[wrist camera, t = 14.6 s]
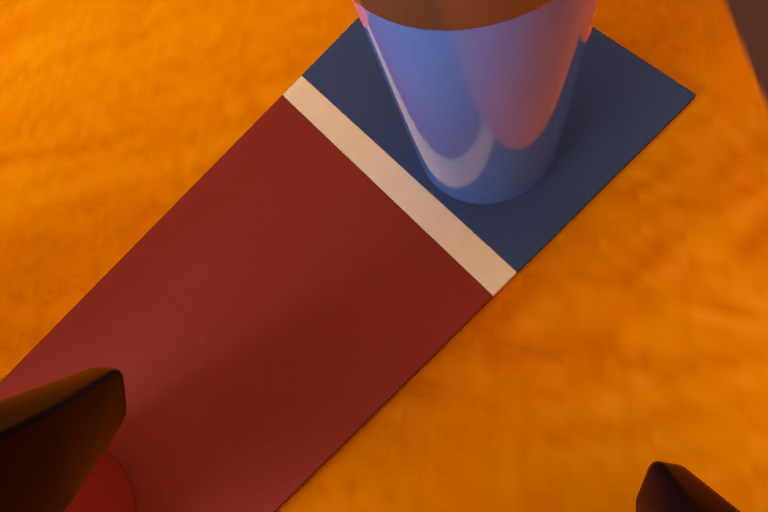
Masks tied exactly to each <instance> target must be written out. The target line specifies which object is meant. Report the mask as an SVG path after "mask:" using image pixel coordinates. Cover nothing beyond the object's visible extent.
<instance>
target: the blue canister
mask: <svg viewBox="0 0 768 512" xmlns="http://www.w3.org/2000/svg"><path fill="white" fill-rule="evenodd" d="M352 1H353V4H354V6H355V9H356V11H357V13H358V16H359V18H360V21H361V23H362V25H363V28H364V30H365V32H366V35H367V37H368V40H369V42H370V44H371V47H372V49H373V52H374V54H375V56H376V59H377V61H378V64H379V66H380V68H381V71H382V73H383V76H384V78H385V80H386V83H387V85H388V87H389V90H390V92H391V95H392V97H393V99H394V102H395V104H396V107H397V109H398V111H399V114H400V116H401V119H402V121H403V123H404V126H405V128H406V130H407V133H408V135H409V138H410V140H411V142H412V145H413V147H414V150H415V152H416V154H417V157H418V159H419V162H420V164H421V166H422V168H423V170H424V172H425V174H426V175H427V177H428V178H429V180H430V181H431V182H432V183H433V184H434V185H435V186H436V187H437V188H438V189H440V190H441V191H442V192H444V193H445V194H447V195H449V196H451V197H453V198H455V199H457V200H461V201H464V202H468V203H474V204H493V203H499V202H504V201H507V200H510V199H513V198H516V197H518V196H520V195H522V194H524V193H525V192H527V191H528V190H530V189H531V188H533V187H534V186H535V185H536V184H537V183H539V182H540V181H541V179H542V178H543V177H544V176H545V175H546V174H547V172H548V171H549V169H550V168H551V166H552V165H553V163H554V161H555V159H556V156H557V153H558V150H559V146H560V143H561V139H562V135H563V132H564V128H565V125H566V121H567V117H568V114H569V110H570V106H571V103H572V99H573V95H574V92H575V88H576V85H577V81H578V77H579V74H580V70H581V66H582V63H583V59H584V55H585V52H586V48H587V45H588V41H589V37H590V34H591V30H592V26H593V23H594V19H595V16H596V12H597V8H598V5H599V1H600V0H352Z"/></svg>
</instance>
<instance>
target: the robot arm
mask: <svg viewBox="0 0 768 512" xmlns="http://www.w3.org/2000/svg"><path fill="white" fill-rule="evenodd" d="M125 414H126V397H125V388H124V378H123V374H122V373H121V371H119V370H118V369H114V368H108V367H102V366H95V367H92V368H89V369H86V370H83V371H81V372H78V373H75V374H72V375H70V376H67V377H64V378H61V379H58V380H56V381H53V382H50V383H47V384H45V385H42V386H39V387H36V388H33V389H31V390H28V391H25V392H22V393H20V394H17V395H14V396H11V397H8V398H6V399H3V400H0V512H65V511H66V510H67V508H68V507H69V506H70V504H71V503H72V501H73V500H74V498H75V497H76V495H77V494H78V492H79V491H80V489H81V488H82V486H83V485H84V483H85V481H86V480H87V478H88V477H89V475H90V473H91V472H92V470H93V469H94V467H95V465H96V464H97V462H98V461H99V459H100V457H101V456H102V454H103V453H104V451H105V449H106V448H107V446H108V445H109V443H110V442H111V440H112V438H113V437H114V435H115V434H116V432H117V430H118V429H119V427H120V426H121V424H122V422H123V420H124V418H125ZM636 512H740V511H739V510H738V509H736V508H735V507H734V506H733V505H731V504H730V503H729V502H728V501H726V500H725V499H724V498H723V497H721V496H720V495H719V494H717V493H716V492H715V491H714V490H712V489H711V488H710V487H709V486H707V485H706V484H705V483H704V482H702V481H701V480H700V479H699V478H697V477H696V476H695V475H693V474H692V473H691V472H690V471H688V470H687V469H686V468H684V467H683V466H681V465H678V464H672V463H667V462H661V461H656V462H653V463H652V464H651V465H650V466H649V468H648V471H647V473H646V476H645V478H644V481H643V483H642V486H641V488H640V491H639V493H638V496H637V499H636Z"/></svg>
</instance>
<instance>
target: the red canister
mask: <svg viewBox="0 0 768 512" xmlns="http://www.w3.org/2000/svg"><path fill="white" fill-rule="evenodd" d="M65 512H136V505H135V497H134V493H133V489H132V486H131V483H130V481H129V478H128V477H127V475H126V473H125V471H124V470H123V468H122V467H121V465H120V464H119V463H118V462H117V461H116V460H115V459H114V458H113V457H111V456H110V455H109V454H107V453H105V452H104V453H103V454H102V456H101V457H100V459H99V461H98V462H97V464H96V465H95V467H94V469H93V470H92V472H91V473H90V475H89V477H88V478H87V480H86V481H85V483H84V485H83V486H82V488H81V489H80V491H79V492H78V494H77V495H76V497H75V498H74V500H73V501H72V503H71V504H70V506H69V507H68V508H67V510H66V511H65Z"/></svg>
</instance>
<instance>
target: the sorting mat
mask: <svg viewBox="0 0 768 512" xmlns="http://www.w3.org/2000/svg"><path fill="white" fill-rule="evenodd" d="M695 96H696V94H694V93H693V92H691V91H690V90H688V89H687V88H685V87H684V86H682V85H680V84H679V83H677V82H676V81H674V80H673V79H671V78H670V77H668V76H667V75H665V74H664V73H662V72H661V71H659V70H658V69H656V68H654V67H653V66H651V65H650V64H648V63H647V62H645V61H644V60H642V59H641V58H639V57H638V56H636V55H635V54H633V53H632V52H630V51H628V50H627V49H625V48H624V47H622V46H621V45H619V44H618V43H616V42H615V41H613V40H612V39H610V38H609V37H607V36H606V35H604V34H602V33H601V32H599V31H598V30H596V29H595V28H593V27H592V30H591V34H590V37H589V41H588V45H587V48H586V52H585V55H584V59H583V63H582V66H581V70H580V74H579V77H578V81H577V85H576V88H575V92H574V95H573V99H572V103H571V106H570V110H569V114H568V117H567V121H566V125H565V128H564V132H563V135H562V139H561V143H560V146H559V150H558V153H557V156H556V159H555V161H554V163H553V165H552V166H551V168H550V169H549V171H548V172H547V174H546V175H545V176H544V177H543V178H542V179H541V181H540V182H539V183H537V184H536V185H535V186H534V187H533V188H531V189H530V190H528V191H527V192H525V193H524V194H522V195H520V196H518V197H516V198H513V199H510V200H507V201H504V202H499V203H493V204H474V203H468V202H464V201H461V200H457V199H455V198H453V197H451V196H449V195H447V194H445V193H444V192H442V191H441V190H440V189H438V188H437V187H436V186H435V185H434V184H433V183H432V182H431V181H430V180H429V178H428V177H427V175H426V174H425V172H424V170H423V168H422V166H421V164H420V162H419V159H418V157H417V154H416V152H415V150H414V147H413V145H412V142H411V140H410V138H409V135H408V133H407V130H406V128H405V126H404V123H403V121H402V119H401V116H400V114H399V111H398V109H397V107H396V104H395V102H394V99H393V97H392V95H391V92H390V90H389V87H388V85H387V83H386V80H385V78H384V76H383V73H382V71H381V68H380V66H379V64H378V61H377V59H376V56H375V54H374V52H373V49H372V47H371V44H370V42H369V40H368V37H367V35H366V32H365V30H364V28H363V25H362V23H361V21H360V18H358V19H357V20H356V21H355V22H354V23H353V24H352V25H351V26H350V27H349V28H348V29H347V30H346V31H345V32H344V33H343V34H342V35H341V36H340V37H339V38H338V39H337V40H336V41H335V42H334V43H333V44H332V45H331V46H330V47H329V48H328V49H327V50H326V51H325V52H324V53H323V54H322V55H321V56H320V57H319V58H318V59H317V60H316V61H315V63H314V64H313V65H312V66H311V67H310V68H309V69H308V70H307V71H306V72H305V73H304V74H303V75H302V76H301V77H300V78H299V79H298V80H297V81H296V82H295V83H294V84H293V85H292V86H291V87H290V88H289V89H288V90H287V91H286V92H285V93H284V94H283V96H281V97H280V98H279V99H278V100H277V101H276V102H275V103H274V104H273V105H272V106H271V107H270V108H269V109H268V110H267V111H266V112H265V113H264V114H263V115H262V116H261V117H260V118H259V120H258V121H257V122H256V123H255V124H254V125H253V126H252V127H251V128H250V129H249V130H248V131H247V132H246V133H245V134H244V135H243V136H242V137H241V138H240V139H239V140H238V141H237V142H236V143H235V144H234V145H233V146H232V147H231V148H230V149H229V150H228V151H227V152H226V153H225V154H224V155H223V156H222V157H221V158H220V159H219V160H218V161H217V162H216V163H215V164H214V165H213V166H212V167H211V168H210V169H209V170H208V171H207V172H206V173H205V174H204V175H203V176H202V178H201V179H200V180H199V181H198V182H197V183H196V184H195V185H194V186H193V187H192V188H191V189H190V190H189V191H188V192H187V193H186V194H185V195H184V196H183V197H182V198H181V199H180V200H179V201H178V202H177V203H176V204H175V205H174V206H173V207H172V208H171V209H170V210H169V211H168V212H167V213H166V214H165V215H164V216H163V217H162V218H161V219H160V220H159V221H158V222H157V223H156V224H155V225H154V226H153V227H152V228H151V229H150V230H149V231H148V232H147V233H146V235H145V236H144V237H143V238H142V239H141V240H140V241H139V242H138V243H137V244H136V245H135V246H134V247H133V248H132V249H131V250H130V251H129V252H128V253H127V254H126V255H125V256H124V257H123V258H122V259H121V260H120V261H119V262H118V263H117V264H116V265H115V266H114V267H113V268H112V269H111V270H110V271H109V272H108V273H107V274H106V275H105V276H104V277H103V278H102V279H101V280H100V281H99V282H98V283H97V284H96V285H95V286H94V287H93V288H92V289H91V290H90V291H89V293H88V294H87V295H86V296H85V297H84V298H83V299H82V300H81V301H80V302H79V303H78V304H77V305H76V306H75V307H74V308H73V309H72V310H71V311H70V312H69V313H68V314H67V315H66V316H65V317H64V318H63V319H62V320H61V321H60V322H59V323H58V324H57V325H56V326H55V327H54V328H53V329H52V330H51V331H50V332H49V333H48V334H47V335H46V336H45V337H44V338H43V339H42V340H41V341H40V342H39V343H38V344H37V345H36V346H35V347H34V348H33V349H32V351H31V352H30V353H29V354H28V355H27V356H26V357H25V358H24V359H23V360H22V361H21V362H20V363H19V364H18V365H17V366H16V367H15V368H14V369H13V370H12V371H11V372H10V373H9V374H8V375H7V376H6V377H5V378H4V379H3V380H2V381H1V382H0V400H3V399H6V398H8V397H11V396H14V395H17V394H20V393H22V392H25V391H28V390H31V389H33V388H36V387H39V386H42V385H45V384H47V383H50V382H53V381H56V380H58V379H61V378H64V377H67V376H70V375H72V374H75V373H78V372H81V371H83V370H86V369H89V368H92V367H95V366H102V367H108V368H114V369H118V370H119V371H121V373H122V374H123V378H124V388H125V397H126V414H125V418H124V420H123V422H122V424H121V426H120V427H119V429H118V430H117V432H116V434H115V435H114V437H113V438H112V440H111V442H110V443H109V445H108V446H107V448H106V449H105V451H104V452H105V453H107V454H109V455H110V456H111V457H113V458H114V459H115V460H116V461H117V462H118V463H119V464H120V465H121V467H122V468H123V470H124V471H125V473H126V475H127V477H128V478H129V481H130V483H131V486H132V489H133V493H134V497H135V505H136V512H276V511H277V510H278V509H279V508H280V507H281V506H282V505H283V504H284V503H285V502H286V501H287V500H288V499H289V498H290V497H291V496H292V495H293V494H294V493H295V492H296V491H297V490H298V489H299V488H300V487H301V486H302V485H303V484H304V483H305V482H306V481H307V480H308V479H309V478H310V477H311V476H312V475H313V474H314V473H315V472H316V471H317V470H318V469H319V468H320V467H321V466H322V465H323V464H324V463H325V462H326V461H327V460H328V459H329V458H330V457H331V456H332V455H333V454H334V453H335V452H336V451H337V450H339V449H340V448H341V447H342V446H343V445H344V444H345V443H346V442H347V441H348V440H349V439H350V438H351V437H352V436H353V435H354V434H355V433H356V432H357V431H358V430H359V429H360V428H361V427H362V426H363V425H364V424H365V423H366V422H367V421H368V420H369V419H370V418H371V417H372V416H373V415H374V414H375V413H376V412H377V411H378V410H379V409H380V408H381V407H382V406H383V405H384V404H385V403H386V402H387V401H388V400H389V399H390V398H391V397H392V396H393V395H394V394H395V393H396V392H397V391H398V390H399V389H400V388H401V387H402V386H403V385H404V384H405V383H406V382H407V381H408V380H409V379H410V378H411V377H412V376H413V375H414V374H415V373H416V372H417V371H419V370H420V369H421V368H422V367H423V366H424V365H425V364H426V363H427V362H428V361H429V360H430V359H431V358H432V357H433V356H434V355H435V354H436V353H437V352H438V351H439V350H440V349H441V348H442V347H443V346H444V345H445V344H446V343H447V342H448V341H449V340H450V339H451V338H452V337H453V336H454V335H455V334H456V333H457V332H458V331H459V330H460V329H461V328H462V327H463V326H464V325H465V324H466V323H467V322H468V321H469V320H470V319H471V318H472V317H473V316H474V315H475V314H476V313H477V312H478V311H479V310H480V309H481V308H482V307H483V306H484V305H485V304H486V303H487V302H488V301H489V300H490V299H491V298H492V296H494V295H495V294H496V293H498V292H499V291H500V290H501V289H502V288H503V287H504V286H505V285H506V284H507V283H508V282H509V281H510V280H511V279H512V278H513V277H514V276H515V275H516V273H518V272H519V271H520V270H521V269H522V268H523V267H524V266H525V265H526V264H527V263H528V262H529V261H530V260H531V259H532V258H533V257H534V256H535V255H536V254H537V253H538V252H539V251H540V250H541V249H542V248H543V247H544V246H545V245H546V244H547V243H548V242H549V241H550V240H551V239H552V238H553V237H554V236H555V235H556V234H557V233H558V232H559V231H560V230H561V229H562V228H563V227H564V226H565V225H566V224H567V223H568V222H569V221H570V220H571V219H572V218H573V217H574V216H575V215H576V214H578V213H579V212H580V211H581V210H582V209H583V208H584V207H585V206H586V205H587V204H588V203H589V202H590V201H591V200H592V199H593V198H594V197H595V196H596V195H597V194H598V193H599V192H600V191H601V190H602V189H603V188H604V187H605V186H606V185H607V184H608V183H609V182H610V181H611V180H612V179H613V178H614V177H615V176H616V175H617V174H618V173H619V172H620V171H621V170H622V169H623V168H624V167H625V166H626V165H627V164H628V163H629V162H630V161H631V160H632V159H633V158H634V157H635V156H636V155H637V154H638V153H639V152H640V151H641V150H642V149H643V148H644V147H645V146H646V145H647V144H648V143H649V142H650V141H651V140H652V139H653V138H654V137H655V136H656V135H658V134H659V133H660V132H661V131H662V130H663V129H664V128H665V127H666V126H667V125H668V124H669V123H670V122H671V121H672V120H673V119H674V118H675V117H676V116H677V115H678V114H679V113H680V112H681V111H682V110H683V109H684V108H685V107H686V106H687V105H688V104H689V103H690V102H691V101H692V100H693V99H694V97H695Z"/></svg>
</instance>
